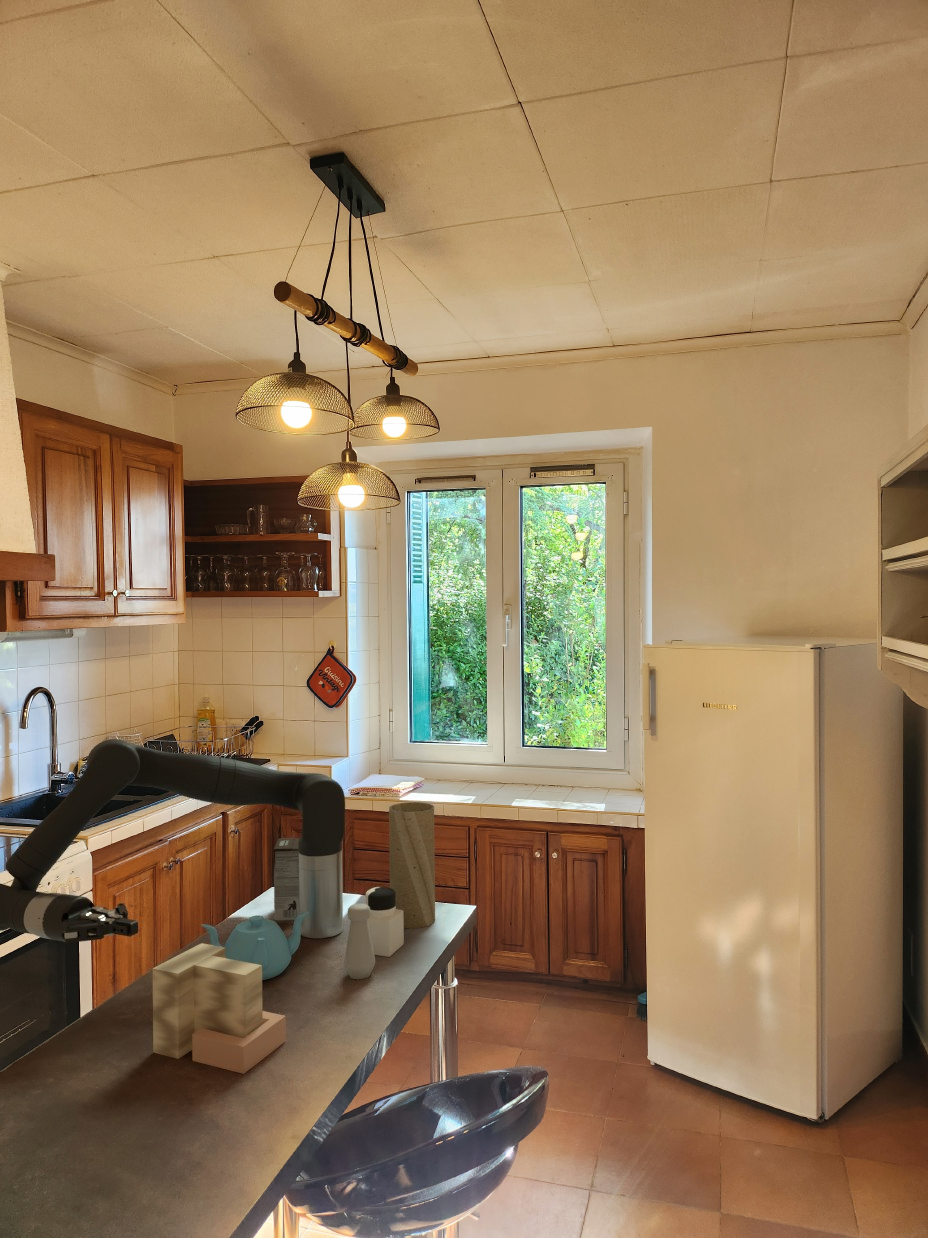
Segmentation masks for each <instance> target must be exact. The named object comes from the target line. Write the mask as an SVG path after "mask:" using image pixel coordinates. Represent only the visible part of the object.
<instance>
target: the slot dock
mask: <svg viewBox="0 0 928 1238" xmlns="http://www.w3.org/2000/svg"><path fill="white" fill-rule="evenodd" d="M262 1013H263V1025H261V1026H260V1027H259V1028H257V1029H256V1030H254V1031H253V1032H252V1033H250V1034H249V1035H247V1036H246V1037H245V1038H240V1037H236V1036H231V1035H227V1034H223V1033H219V1032H214V1031H210V1030H206V1029H202V1028H201V1029H200V1030H198V1031H197V1032H195V1033H194V1034H192V1050H191V1053H192V1062H196V1063H199V1064H204V1065H208V1066H212V1067H214V1068H215V1067H216V1068H219V1069H224V1070H227V1071H231V1072H235V1073H238V1074H246V1073H247V1072H248V1071H249V1070H251V1069H252V1068H254V1067H255V1066H256V1065H258V1063H260V1062H261V1061H262V1060H264V1059H265V1058H266V1057H267V1056H269V1055H270V1054H271V1053H273V1052H274V1051H275V1050H277V1048H279V1047H280V1046H281V1045H283V1044H284V1043H286V1042H287V1032H286V1031H287V1027H286V1026H287V1025H286V1023H287V1022H286V1021H287V1020H286V1019H287V1016H286V1015H284V1014H278V1013H273V1012H269V1011H264V1010H262Z"/></svg>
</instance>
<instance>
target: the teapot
mask: <svg viewBox="0 0 928 1238" xmlns="http://www.w3.org/2000/svg"><path fill="white" fill-rule="evenodd" d="M308 913H309V912H305V913H303V914H301V915H299V916H298V917H297V918H296V919H295V920H293V921H294V922H293V927H292V929H293V930H292V933H291V935H290V936H289V937H288V938H287V936H286V935H285V933H284V931H283V930H282V928H281V926H280V925H278V923H277V922H276V921H275V920H274V919H268V918H264V917H263V916H262V915H251V916H250V917H249V918H248V920H245V921H242V922H240V923H238V924H236V926H235V927H234V929H233V930H232V931H231V933H230V935H229V936H228V938H227V940H226V942H225V944H224V946H222V944H220V942H219V937H218V936H219V935H218V931H217V929H216V927H214V926H213V925H209V924H204V923H201V924H200V925H201V927H203V928H204V929H205V930H206V931H207V932H208V934H209V939H210V940H209V943H210V945H214V946H219V947H225V948H226V958H227V959H232V960H237V961H242V962H247V963H253V964H258V965H262V981H267V980H269V979H273V978H275V977H277V976H279V975H281V974H282V973H283V972H285V970H286V969H287V967H288V966H289V964H290V962H291V961H292V955H294V953H296V952H297V950H298V948H299V946H300V944H301V936H302V935H301V923H302V921H303V919H304V917H305V916H306V915H307V914H308Z"/></svg>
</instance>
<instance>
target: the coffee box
mask: <svg viewBox="0 0 928 1238" xmlns="http://www.w3.org/2000/svg"><path fill="white" fill-rule="evenodd" d="M299 839H300V837H297V838H296V837H282V838H281V837H280V838H277V840H276V843H275V845H274V848H273V903H274V904H273V908H274V909H273V911H274V913H273V914H274V919H273V921H295V919H296V918H297V917H298V916H299V851H298V842H299Z"/></svg>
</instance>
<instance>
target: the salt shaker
mask: <svg viewBox="0 0 928 1238" xmlns="http://www.w3.org/2000/svg"><path fill="white" fill-rule="evenodd" d="M347 918H348V920H349V921H350V923H349V930H348V936H347V942H346V949H345V950H346V951H345V956H344V968H345V970H346V971H347V974H348V975H349V978H350V979H351V980H352V979H353V980H359V979H360V980H365V979H369V977H370V975H371V974H372V972H373V969H374V967H375V965H376V957H375V956H376V955H374V951H373V945H372V940H371V935H370V930H369V925H368V920H367V919H369V918H370V907H369V906H368V905H366V903H354V904H352V905H350V906H349V907H348V908H347Z"/></svg>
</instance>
